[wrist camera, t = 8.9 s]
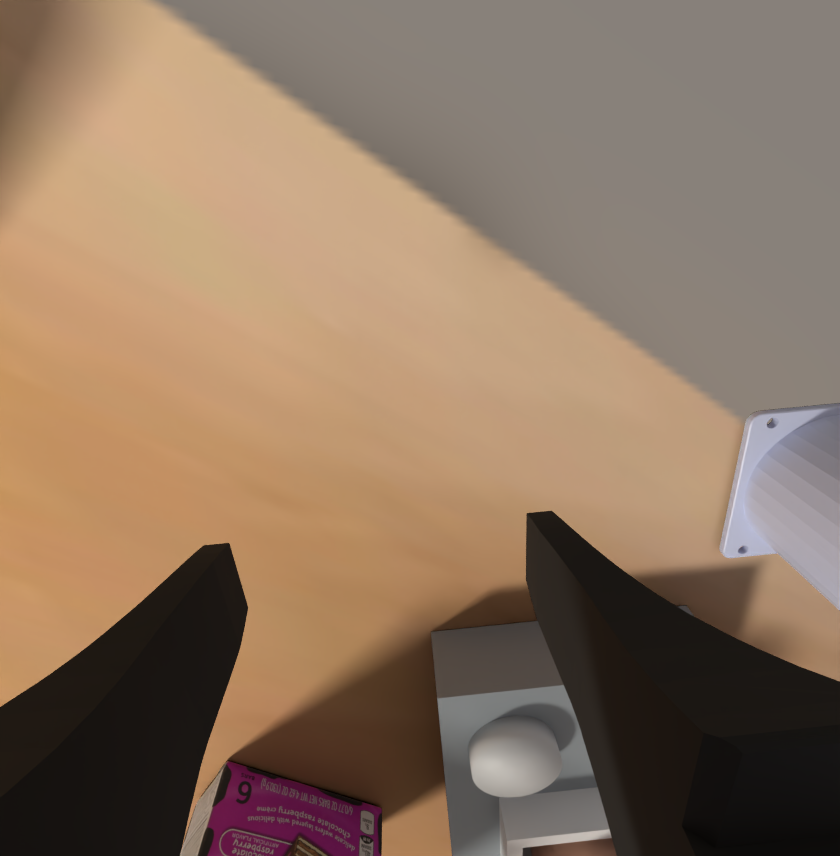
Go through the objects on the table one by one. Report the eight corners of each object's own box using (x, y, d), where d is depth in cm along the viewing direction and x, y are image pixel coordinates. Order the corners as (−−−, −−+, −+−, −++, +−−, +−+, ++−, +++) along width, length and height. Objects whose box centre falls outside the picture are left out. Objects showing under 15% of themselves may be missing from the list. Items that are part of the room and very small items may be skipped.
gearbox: (686, 605, 28) (758, 705, 22) (646, 818, 36) (692, 929, 31) (430, 631, 28) (441, 739, 22) (450, 840, 36) (461, 956, 30)
